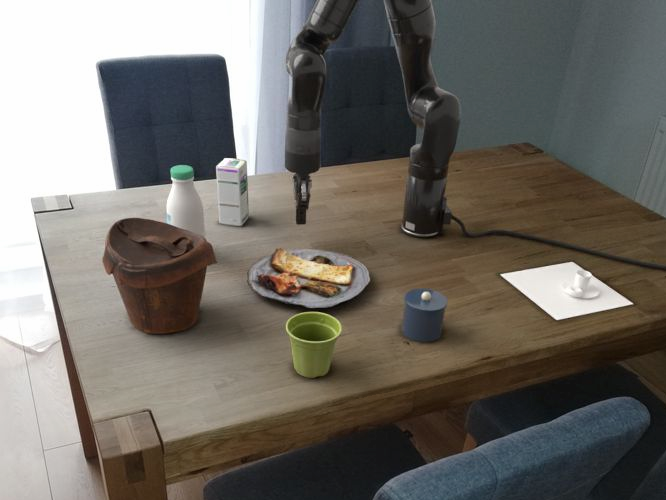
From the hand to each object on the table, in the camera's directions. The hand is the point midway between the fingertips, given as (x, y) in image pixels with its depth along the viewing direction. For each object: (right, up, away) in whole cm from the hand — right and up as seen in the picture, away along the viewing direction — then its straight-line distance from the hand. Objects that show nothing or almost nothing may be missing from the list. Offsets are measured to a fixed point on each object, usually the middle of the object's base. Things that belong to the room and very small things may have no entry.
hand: (300, 223), depth 160 cm
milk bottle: (-24, -8, -4) cm, 26 cm away
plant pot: (+4, -32, -36) cm, 48 cm away
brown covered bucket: (-24, -22, -25) cm, 41 cm away
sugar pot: (+24, -25, -24) cm, 42 cm away
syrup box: (-17, +3, +13) cm, 21 cm away
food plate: (+2, -15, -11) cm, 19 cm away
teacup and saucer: (+57, -16, -7) cm, 60 cm away
